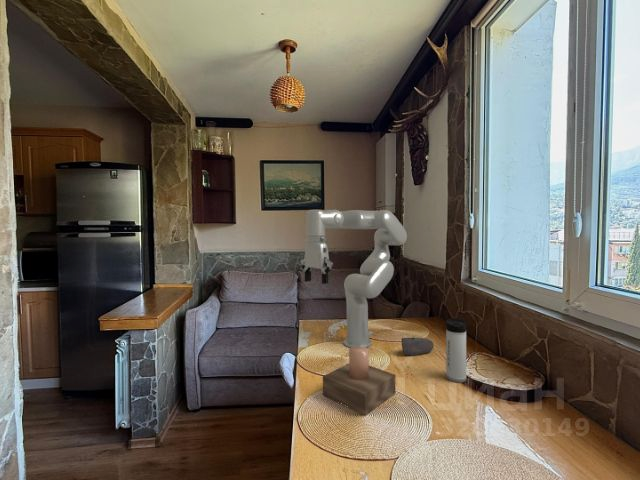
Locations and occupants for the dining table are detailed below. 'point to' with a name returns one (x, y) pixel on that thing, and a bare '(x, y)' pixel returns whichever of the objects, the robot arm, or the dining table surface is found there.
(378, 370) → the walnut riser block
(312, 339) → the dining table surface
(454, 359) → the travel mug
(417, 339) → the dark grey rounded block
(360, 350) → the terracotta canister
